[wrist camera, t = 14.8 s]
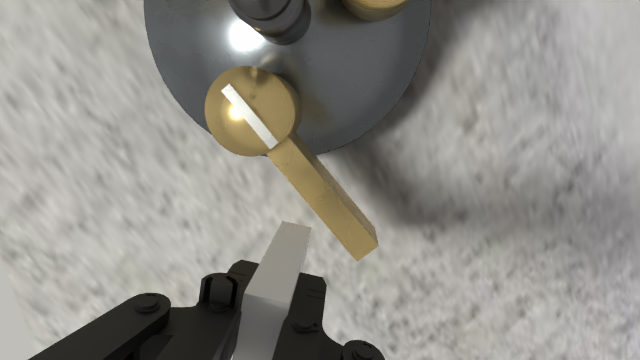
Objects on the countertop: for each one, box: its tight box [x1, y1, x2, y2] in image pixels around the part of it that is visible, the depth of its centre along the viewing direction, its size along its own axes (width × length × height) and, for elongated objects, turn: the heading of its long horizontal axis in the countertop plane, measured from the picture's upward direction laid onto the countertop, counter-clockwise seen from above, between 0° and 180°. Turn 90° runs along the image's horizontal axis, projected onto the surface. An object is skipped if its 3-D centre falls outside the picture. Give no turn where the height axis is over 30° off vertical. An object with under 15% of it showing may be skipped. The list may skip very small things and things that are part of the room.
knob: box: [205, 66, 379, 261], centre depth 21 cm, size 13×5×4 cm, turn 40°
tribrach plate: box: [144, 0, 431, 157], centre depth 19 cm, size 18×18×9 cm
